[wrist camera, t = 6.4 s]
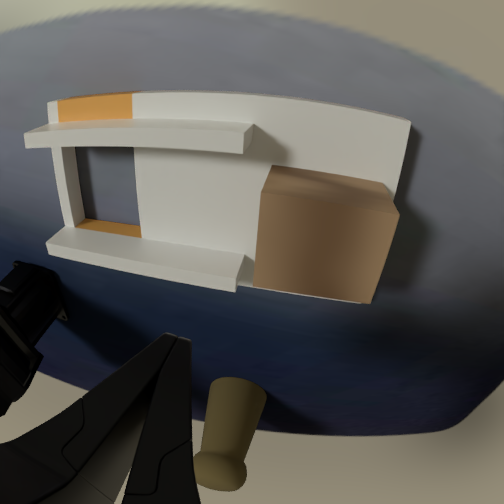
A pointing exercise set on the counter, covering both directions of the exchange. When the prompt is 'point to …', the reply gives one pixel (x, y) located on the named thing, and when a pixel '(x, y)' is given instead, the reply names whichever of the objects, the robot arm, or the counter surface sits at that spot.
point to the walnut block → (323, 234)
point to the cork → (228, 433)
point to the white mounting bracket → (204, 172)
